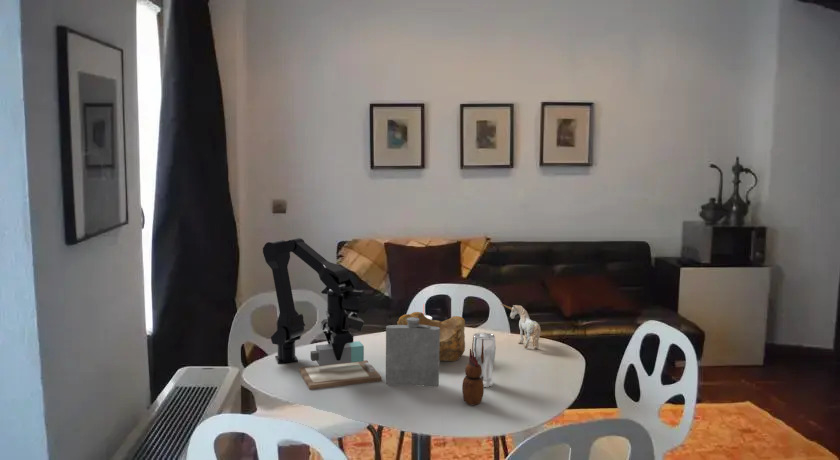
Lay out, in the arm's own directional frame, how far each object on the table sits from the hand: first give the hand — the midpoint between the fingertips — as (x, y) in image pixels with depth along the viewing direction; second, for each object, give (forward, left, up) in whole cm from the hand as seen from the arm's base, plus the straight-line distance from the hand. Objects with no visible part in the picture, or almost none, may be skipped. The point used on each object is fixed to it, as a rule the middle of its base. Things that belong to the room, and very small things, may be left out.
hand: (336, 357), depth 207 cm
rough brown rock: (-1, +32, -5) cm, 32 cm away
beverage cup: (-21, +37, -5) cm, 43 cm away
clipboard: (+4, 0, -5) cm, 6 cm away
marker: (0, +1, -1) cm, 2 cm away
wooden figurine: (+36, +30, -5) cm, 47 cm away
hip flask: (+17, +19, -5) cm, 26 cm away
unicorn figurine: (-6, +68, -5) cm, 68 cm away
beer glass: (+24, +39, -5) cm, 46 cm away
